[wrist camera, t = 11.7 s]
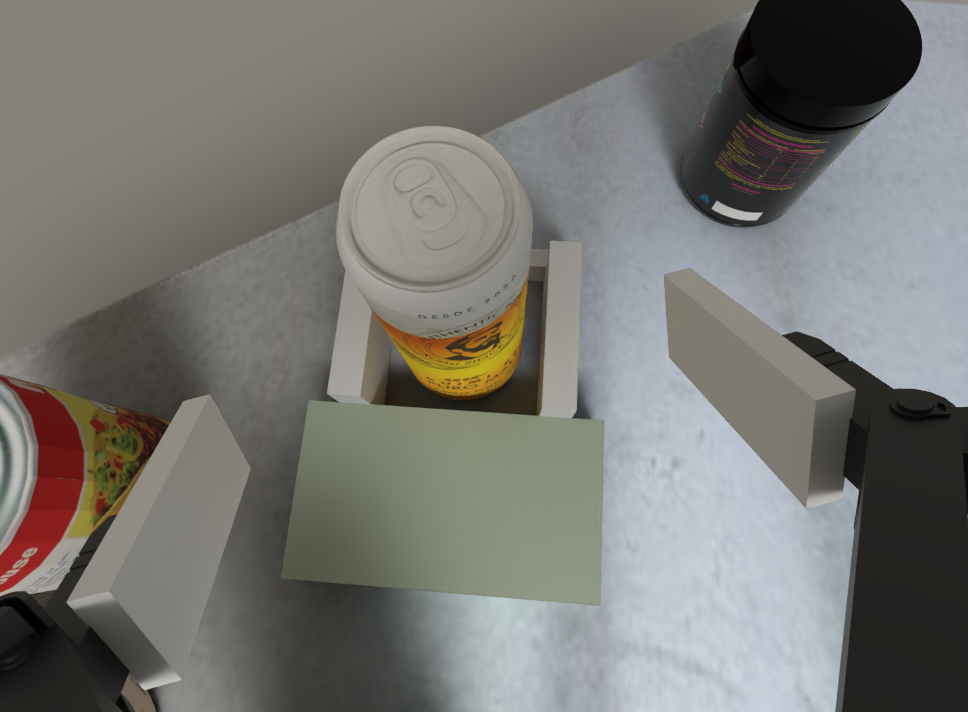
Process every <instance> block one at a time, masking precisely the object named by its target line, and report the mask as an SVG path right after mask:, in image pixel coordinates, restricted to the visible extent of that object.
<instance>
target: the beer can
mask: <svg viewBox="0 0 968 712" xmlns="http://www.w3.org/2000/svg"><path fill="white" fill-rule="evenodd" d="M532 235H533V213H532V208H531V203H530V200H529V197H528V194H527V191H526V189H525V187H524V185H523V183H522V182H521V180H520V179H519V177H518V176H517V174H516V173H515V172H514V171H513V170H512V168H511V166H510V165H509V163H508V162H507V160H506V159H505V158H504V157H503V156H502V154H501V153H500V152H499V151H498V150H497V149H496V148H494V147H493V146H492V145H491V144H489V143H488V142H487V141H485V140H484V139H482V138H480V137H478V136H477V135H474V134H472V133H470V132H467V131H464V130H461V129H458V128H452V127H447V126H421V127H415V128H410V129H406V130H403V131H400V132H397V133H395V134H393V135H390V136H388V137H386V138H384V139H383V140H381V141H379V142H378V143H376V144H375V145H374V146H372V147H371V148H370V149H369V150H368V151H366V152H365V153H364V154H363V155H362V157H360V158H359V160H358V161H357V162H356V163H355V165H354V166H353V167H352V169H351V171H350V172H349V174H348V176H347V178H346V180H345V182H344V185H343V188H342V191H341V195H340V201H339V210H338V214H337V220H336V242H337V247H338V252H339V255H340V258H341V261H342V263H343V266H344V267H345V269H346V271H347V273H348V275H349V276H350V278H351V279H352V281H353V282H354V284H355V285H356V287H357V288H358V290H359V291H360V293H361V294H362V296H363V297H364V299H365V300H366V302H367V304H368V305H369V307H370V308H371V310H372V311H373V313H374V314H375V316H376V317H377V319H378V320H379V322H380V323H381V325H382V326H383V328H384V329H385V331H386V332H387V334H388V335H389V337H390V339H391V340H392V342H393V343H394V345H395V346H396V348H397V349H398V351H399V352H400V354H401V355H402V357H403V358H404V360H405V361H406V363H407V364H408V366H409V367H410V369H411V370H412V372H413V373H414V375H415V376H416V378H417V379H418V380H419V381H420V383H421V384H422V385H423V386H425V387H426V388H427V389H428V390H430V391H431V392H433V393H435V394H437V395H439V396H441V397H444V398H447V399H451V400H474V399H478V398H481V397H484V396H487V395H489V394H491V393H493V392H494V391H496V390H497V389H499V388H500V387H501V386H502V385H504V384H505V383H506V381H507V380H508V379H509V378H510V377H511V375H512V374H513V372H514V371H515V369H516V367H517V364H518V362H519V358H520V354H521V347H522V337H523V327H524V317H525V306H526V296H527V286H528V276H529V266H530V255H531V245H532Z"/></svg>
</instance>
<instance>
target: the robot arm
mask: <svg viewBox="0 0 968 712" xmlns="http://www.w3.org/2000/svg"><path fill="white" fill-rule="evenodd" d="M664 284H665V299H666V315H667V331H668V346H669V358H670V359H671V360H672V361H673V362H674V363H675V364H676V365H677V367H678V368H679V369H680V370H681V371H682V372H683V373H684V374H685V375H686V376H687V378H688V379H689V380H690V381H691V382H692V383H693V384H694V385H695V386H696V388H697V389H698V390H699V391H700V392H701V393H702V394H703V395H704V396H705V397H706V399H707V400H708V401H709V402H710V403H711V404H712V405H713V406H714V407H715V408H716V410H717V411H718V412H719V413H720V414H721V415H722V416H723V417H724V418H725V420H726V421H727V422H728V423H729V424H730V425H731V426H732V427H733V428H734V429H735V431H736V432H737V433H738V434H739V435H740V436H741V437H742V438H743V439H744V440H745V442H746V443H747V444H748V445H749V446H750V447H751V448H752V449H753V450H754V452H755V453H756V454H757V455H758V456H759V457H760V458H761V459H762V460H763V461H764V463H765V464H766V465H767V466H768V467H769V468H770V469H771V470H772V471H773V472H774V474H775V475H776V476H777V477H778V478H779V479H780V480H781V481H782V482H783V484H784V485H785V486H786V487H787V488H788V489H789V490H790V491H791V492H792V493H793V495H794V496H795V497H796V498H797V499H798V500H799V501H800V502H801V503H802V504H803V506H804V507H805V508H806V509H808V508H811V507H815V506H819V505H822V504H826V503H830V502H833V501H837V500H840V499H842V494H843V486H844V479H845V477H846V478H847V479H848V480H849V481H850V482H851V483H852V484H853V485H854V486H855V487H856V488H857V489H858V490H859V495H858V502H857V509H856V515H855V522H854V529H855V530H854V540H853V549H852V559H851V568H850V578H849V587H848V597H847V607H846V616H845V626H844V635H843V645H842V654H841V664H840V673H839V683H838V692H837V702H836V711H835V712H968V515H967V514H968V407H955V405H953V404H952V403H951V402H949V401H948V400H947V399H945V398H943V397H941V396H939V395H936V394H934V393H931V392H927V391H922V390H917V389H893V388H891V387H890V386H888V385H887V384H885V383H884V382H882V381H881V380H879V379H878V378H876V377H875V376H873V375H872V374H870V373H869V372H868V371H866V370H865V369H863V368H862V367H860V366H859V365H857V364H856V363H854V362H853V361H849V360H848V358H847V357H845V356H844V355H842V354H841V353H839V352H836V351H835V349H834V348H832V347H831V346H829V345H828V344H826V343H825V342H823V341H822V340H820V339H818V338H815V337H812V336H809V335H806V334H803V333H800V332H793V333H789V334H785V335H780V334H779V333H778V332H776V331H775V330H774V329H772V328H771V327H770V326H768V325H767V324H765V323H764V322H763V321H761V320H760V319H759V318H757V317H756V316H755V315H753V314H752V313H750V312H749V311H748V310H746V309H745V308H744V307H742V306H741V305H739V304H738V303H737V302H735V301H734V300H733V299H731V298H730V297H729V296H727V295H726V294H724V293H723V292H722V291H720V290H719V289H718V288H716V287H715V286H713V285H712V284H711V283H709V282H708V281H707V280H705V279H704V278H703V277H701V276H700V275H698V274H697V273H696V272H694V271H693V270H692V269H690V268H689V269H685V270H681V271H677V272H674V273H670V274H666V275H664ZM250 470H251V468H250V466H249V464H248V462H247V461H246V459H245V457H244V455H243V453H242V451H241V450H240V448H239V446H238V444H237V442H236V440H235V439H234V437H233V435H232V433H231V431H230V429H229V427H228V426H227V424H226V422H225V420H224V418H223V416H222V415H221V413H220V411H219V409H218V407H217V405H216V404H215V402H214V400H213V398H212V396H211V394H208V395H205V396H201V397H197V398H193V399H189V400H186V401H183V402H182V404H181V406H180V408H179V409H178V411H177V413H176V414H175V416H174V418H173V420H172V421H171V423H170V425H169V426H168V428H167V430H166V432H165V433H164V435H163V437H162V439H161V440H160V442H159V444H158V445H157V447H156V449H155V451H154V452H153V454H152V456H151V457H150V459H149V461H148V463H147V464H146V466H145V468H144V469H143V471H142V473H141V475H140V476H139V478H138V480H137V482H136V483H135V485H134V487H133V488H132V490H131V492H130V494H129V495H128V497H127V499H126V500H125V502H124V504H123V506H122V507H121V509H120V511H119V512H118V514H115V515H111V516H109V517H108V518H107V519H106V520H105V521H104V522H103V523H102V524H101V525H100V526H99V527H98V528H97V529H96V530H95V531H94V532H93V533H92V534H91V535H90V536H89V538H88V539H87V541H86V543H85V544H84V546H83V547H82V549H81V551H80V552H79V557H76V559H75V561H74V562H73V564H72V565H71V567H70V572H68V573H67V574H66V575H65V577H64V578H63V580H62V582H61V583H60V585H59V587H58V588H57V590H56V592H55V593H54V595H53V596H52V598H51V600H50V601H49V603H48V605H47V606H46V608H45V609H43V608H42V607H41V606H40V605H39V603H38V602H37V601H36V600H35V599H34V598H33V597H32V596H31V595H30V594H28V593H27V592H26V591H14V592H11V593H8V594H5V595H2V596H0V712H135V710H134V709H133V707H132V705H131V703H130V702H129V701H128V700H127V699H126V697H125V696H124V695H123V694H122V693H121V691H122V689H123V686H124V684H125V682H126V679H127V677H128V674H130V675H131V676H132V677H133V678H134V679H135V680H136V682H137V683H138V684H139V685H140V686H141V687H142V688H143V689H144V690H147V689H151V688H154V687H158V686H162V685H165V684H169V683H173V682H176V681H180V680H182V678H183V675H184V671H185V668H186V665H187V662H188V659H189V656H190V653H191V650H192V647H193V644H194V641H195V638H196V635H197V632H198V629H199V626H200V623H201V620H202V617H203V613H204V610H205V607H206V604H207V601H208V598H209V595H210V592H211V589H212V586H213V583H214V580H215V577H216V574H217V571H218V568H219V565H220V562H221V558H222V555H223V552H224V549H225V546H226V543H227V540H228V537H229V534H230V531H231V528H232V525H233V522H234V519H235V516H236V513H237V510H238V507H239V504H240V500H241V497H242V494H243V491H244V488H245V485H246V482H247V479H248V476H249V473H250Z"/></svg>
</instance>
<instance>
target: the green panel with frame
mask: <svg viewBox="0 0 968 712" xmlns="http://www.w3.org/2000/svg"><path fill="white" fill-rule="evenodd" d="M581 267H582V242H570V241H551V240H550V245H549V249H531V255H530V266H529V276H528V281H537V282H543V300H542V320H541V339H540V358H539V378H538V397H537V416H533V415H518V414H504V413H489V412H475V411H460V410H445V409H431V408H416V407H401V406H387V405H385V397H386V389H387V381H388V373H389V365H390V357H391V348H392V340H391V339H390V337H389V335H388V334H387V332H386V331H385V329H384V328H383V326H382V325H381V323H380V322H379V320H378V319H377V317H376V316H375V314H374V313H373V311H372V310H371V308H370V307H369V305H368V304H367V302H366V300H365V299H364V297H363V296H362V294H361V293H360V291H359V290H358V288H357V287H356V285H355V284H354V282H353V281H352V279H351V278H350V276H349V275H348V273H347V271H346V269H345V276H344V282H343V289H342V296H341V302H340V309H339V316H338V322H337V329H336V336H335V342H334V349H333V356H332V363H331V369H330V376H329V383H328V389H327V394H328V395H329V396H331V397H332V398H334V399H335V400H337V401H338V402H328V401H314V400H308V407H307V413H306V419H305V426H304V432H303V438H302V445H301V451H300V457H299V464H298V470H297V476H296V483H295V489H294V495H293V502H292V508H291V514H290V521H289V527H288V533H287V540H286V546H285V552H284V559H283V565H282V572H281V578H282V579H294V580H306V581H317V582H329V583H341V584H352V585H364V586H376V587H387V588H399V589H411V590H422V591H434V592H446V593H457V594H469V595H481V596H492V597H504V598H516V599H527V600H539V601H550V602H562V603H574V604H585V605H597V606H600V594H601V545H602V496H603V448H604V420H591V419H577V418H572V417H573V415H574V414H575V412H576V411H577V387H578V357H579V327H580V297H581Z"/></svg>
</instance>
